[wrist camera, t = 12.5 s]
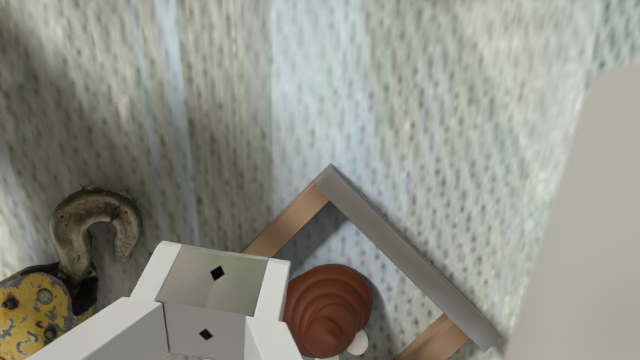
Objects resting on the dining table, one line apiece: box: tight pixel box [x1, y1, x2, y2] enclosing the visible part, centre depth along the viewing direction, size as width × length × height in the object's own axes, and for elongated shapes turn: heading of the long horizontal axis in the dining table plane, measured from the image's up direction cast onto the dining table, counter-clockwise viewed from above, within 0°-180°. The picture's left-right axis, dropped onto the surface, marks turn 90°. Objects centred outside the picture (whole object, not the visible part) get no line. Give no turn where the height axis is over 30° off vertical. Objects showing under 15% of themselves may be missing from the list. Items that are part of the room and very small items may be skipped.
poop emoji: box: [282, 264, 373, 360], centre depth 41 cm, size 10×8×9 cm
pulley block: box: [0, 185, 143, 360], centre depth 43 cm, size 14×6×30 cm
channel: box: [241, 163, 501, 360], centre depth 42 cm, size 15×21×6 cm
